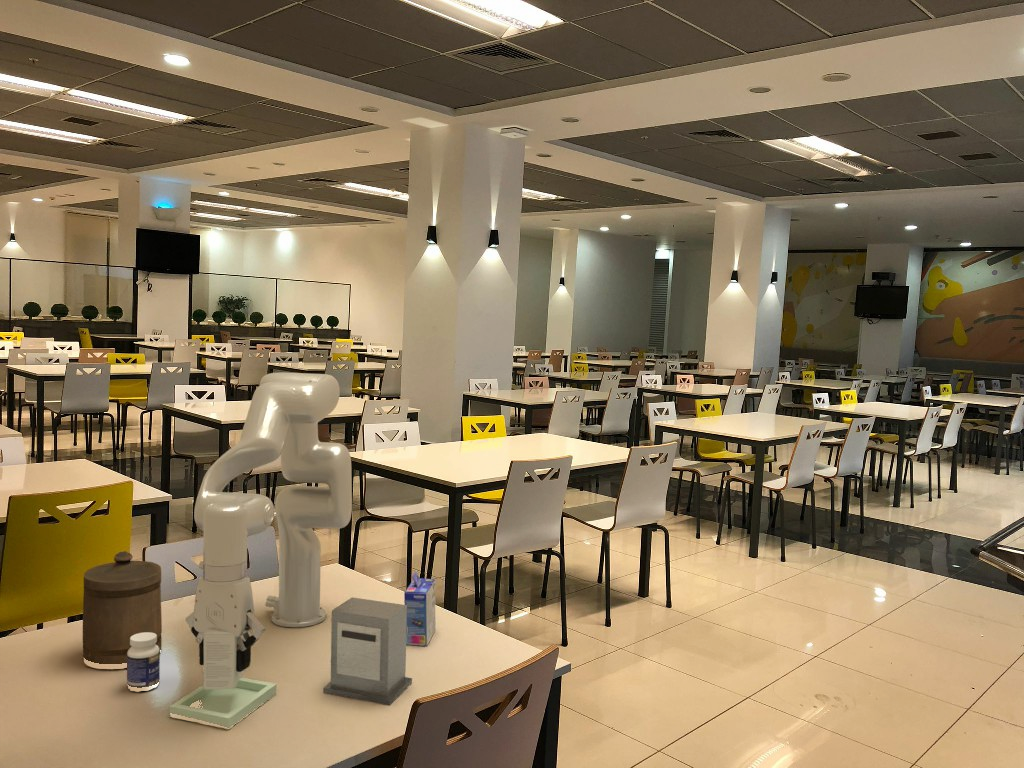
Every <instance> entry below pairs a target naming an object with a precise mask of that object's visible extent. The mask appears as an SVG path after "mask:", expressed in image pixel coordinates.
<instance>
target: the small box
mask: <svg viewBox="0 0 1024 768" xmlns="http://www.w3.org/2000/svg"><path fill="white" fill-rule="evenodd" d="M203 636H204V665H203V685H204V690H213V689H225V690H228V689H235V687H236V685H237V683H238V682H239V680H240V678H241V677H242V676H243V674H244V672H245V670H246V669H245V670H243V671H241V672H237V670H236V661H237V651H238V650H239V649H240V648H239V646H238V644H237V638H235V637H234V633H229V632H223V631H218V630H212V629H207V630H206V631H205V632H204V635H203ZM242 637H243V639H244V636H243V635H242ZM244 641H245V639H244Z"/></svg>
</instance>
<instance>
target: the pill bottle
mask: <svg viewBox="0 0 1024 768" xmlns="http://www.w3.org/2000/svg"><path fill="white" fill-rule="evenodd" d="M156 642H157V635H156V634H155V633H151V632H144V633H138V634H135V635H133V636H131V637H130V645H131V646H132V647H131V648H130V649H129V650H128V653H127V669H126V685H127V684H128V685H129V686H131V687H137V688H142V687H149V686H152V685H155V684H157V683H158V682H159V683H160V681H159V680H160V678H161V677H160V674H161V673H160V670H161V669H160V662H161V661H160V659H161V658H160V655H161V653H160V649H159V647H158V646H157V645H156V644H155V643H156Z"/></svg>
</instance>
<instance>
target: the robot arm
mask: <svg viewBox="0 0 1024 768" xmlns="http://www.w3.org/2000/svg"><path fill="white" fill-rule="evenodd" d="M339 384H340V383H339V382H338V380H337V379H336V378H335V377H334V376H333V375H331V374H326V373H325V374H324V373H301V372H284V371H283V372H282V371H281V372H271V373H267V374H265V375H264V376H262V378H260V382H259V385H258V387H257V388H256V389H255V390H254V392H253V395H252V398H251V401H250V404H249V408H248V412H247V414H246V418H245V422H244V424H243V428H242V431H241V434H240V438H239V441H238V442H237V444H235V445H234V446H232V447H231V448H230V449H228V450H227V451H225V453H223V454H222V455H220V457H219V458H217V460H215V462H214V463H213V464H212V465H211V466H210V467H209V468H208V469H207V471H206V473H205V474H204V476H203V479H202V482H201V485H200V488H199V491H198V494H197V497H196V500H195V505H194V513H193V514H194V515H193V516H194V517H193V519H194V521H195V524H196V526H197V527H198V528H199V530H202V531H203V538H202V539H203V541H202V542H203V545H202V546H203V547H202V548H203V550H202V551H203V553H202V555H203V557H202V560H201V561H199V563H198V568H199V569H202V573H203V574H202V576H200V577H199V579H198V582H197V586H196V590H195V596H194V604H193V605H194V606H193V607H194V609H193V612H192V613H190V614H189V615H188V616H186V617H185V621H186V622H185V623H187V625H188V627H189V628H190V632H191V633H192V634H193V636H194V637H195V643H197V644H198V657H199V660H198V661H199V663H198V664H199V665H200V666H204V636H203V635H204V632H205V631H206V630H207V629H212V630H218V631H223V632H229V633H234V637H235V638H237V644H238V646H239V648H240V649H239V650H238V651H237V661H236V670H237V672H241V671H243V670H246V669H247V668H249V667H250V666H251V662H252V661H251V660H252V656H251V655H252V647H253V646H254V644H256V642H257V641H259V640H260V637H262V635H263V634H264V633H265V631H266V627H265V626H264V625H263V624H262V623H261V622H260V621H259V620H258V618H256V616H255V612H254V611H255V608H254V607H255V606H254V594H253V590H252V589H253V588H252V584H251V583H252V582H251V578H250V577H249V576H248V537H251V536H255V535H258V534H261V533H264V532H265V531H266V530H267V529H268V528H269V527H270V526H271V525H272V522H273V520H274V518H275V515H276V521H277V528H278V545H279V546H278V547H279V548H278V554H279V555H278V558H279V559H278V596H276V595H268V596H267V598H266V601H265V604H264V605H265V607H268V608H273V609H274V611H273V612H272V613H271V621H272V622H273V623H274V624H275V625H276V626H280V627H286V628H305V627H311V626H314V625H318V624H320V623H321V622H323V621H324V620H326V619H327V610H326V609H325V608H324V607H323V606H321V567H322V566H321V565H322V564H321V558H322V557H321V553H322V552H321V551H322V547H321V542H320V539H319V537H318V535H317V533H316V532H315V531H314V529H332V530H333V529H335V530H337V529H342V528H343V529H344V528H345V527H346V526H348V525H349V523H350V521H351V519H352V512H353V511H352V510H353V492H352V490H353V487H352V486H353V484H352V482H353V481H352V480H353V479H352V459H351V454H350V451H349V448H347V446H346V445H344V444H342V443H338V442H327V441H326V442H323V441H320V440H319V427H318V426H319V425H318V423H319V422H321V421H322V420H324V419H325V418H326V417H328V415H330V414H331V413H332V412H334V410H335V409H336V407H337V405H338V403H339V400H340V390H341V389H340V385H339ZM279 458H280V467H281V468H280V469H281V473H282V476H283V478H284V479H286V480H287V481H289V482H295V483H307V484H324V485H327V486H328V487H326V486H325V487H324V486H311V485H309V486H307V485H293V486H287V487H285V488H283V489H281V491H279V493H278V494H277V496H276V498H275V502H274V503H275V506H274V503H273V501H272V500H271V499H270V498H269V497H268V496H266V495H263V494H260V493H243V492H231V491H230V492H229V491H228V492H226V491H223V490H225V488H226V486H227V485H228V484H229V483H230V482H231V481H233V480H234V479H235V478H236V477H239V476H240V475H243V474H245V473H247V472H249V471H250V472H251V471H252V470H255V469H258V468H260V467H263V466H266V465H268V464H270V463H273V462H275V461H276V460H278V459H279ZM250 631H252V633H251V632H250ZM242 635H243V636H244V639H245V641H244V639H243V637H242Z"/></svg>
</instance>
